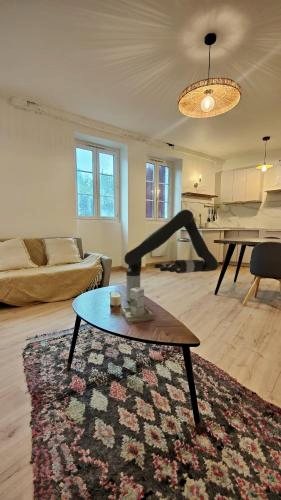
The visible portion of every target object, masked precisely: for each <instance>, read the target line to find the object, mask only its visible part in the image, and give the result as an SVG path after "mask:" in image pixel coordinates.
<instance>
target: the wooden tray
mask: <svg viewBox="0 0 281 500" xmlns="http://www.w3.org/2000/svg"><path fill="white" fill-rule="evenodd" d="M121 313H122V316H123V318H124V319H125V322H126V323H127V324H131V323H133V324H134V323H139V322H148V321H153V320H154V313H153V312H152V311H151V310H150V309H149V308H148V307H147V306H146V305H145V304H144V315H138V316H134V315H131V314H130V306H127V307H126V306H125V307H121Z"/></svg>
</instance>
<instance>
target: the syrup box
mask: <svg viewBox="0 0 281 500" xmlns="http://www.w3.org/2000/svg"><path fill="white" fill-rule="evenodd" d="M144 305H145V289H144V288H142V287H140V288H138V287H135V288H132V289H130V302H129V307H130V314H131V315H134V316H138V315H144Z"/></svg>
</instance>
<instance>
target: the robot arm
mask: <svg viewBox="0 0 281 500" xmlns="http://www.w3.org/2000/svg"><path fill="white" fill-rule="evenodd" d="M182 228H184V229H185V230H186V232H187V233H188V237H189V239H190V242H191V243H192V246H193V247H192V248H193V250H194V251H195V253H196V255H197V257H199V258H200V259H201V260H200V259H176V260H175V261H174V263H173V262H160V263H154V268H155V269H159V271H160V272H170V273H176V274H189V273H199V272H203V273H205V272H214V271H216V270H217V269H218V267H219V263H218V259H216V257H215V256H214V255H213V253H211V252H210V250H209V248H208V246H207V244H206V241H205V240H204V238H203V236H202V235H201V233H200V231H199V229H198V227H197V224H196V219H195V217H194V213H193V212H192V211H191V210H189V209H181V210H179V211H178V212H177V213H175V216H173V217H172V218H171V219H170V220H169V221H168V222H166V223H165V224H163V225H162V226H160V227H159V228H158V229H156V230H155V231H154V232H152V233H151V234H150V235H148V236H147V237H146V238H145V239H144V240H143V241H141V243H140V244H139V245H137V246H136V247H134V248H133V249H130V251H127V253H126V254H125V256H124V259H123V260H124V263H125V264H126V265H128V266H127V269H126V271H125V272H126V274H125V276H126V301H127V302H129V303H130V289H132V288H135V287H138V288H141V271H142V261H143V260H142V259H143V257H145V256H146V255H147V254H150V253H152V252H153V251H155V250H157V249H158V248H160V247H161V246H162V245H164V244H166V242H167V241H168V240H170V238H171V237H172V236H173V235H174V234H175V233H177V231H179V230H181V229H182ZM202 259H203V260H202Z"/></svg>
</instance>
